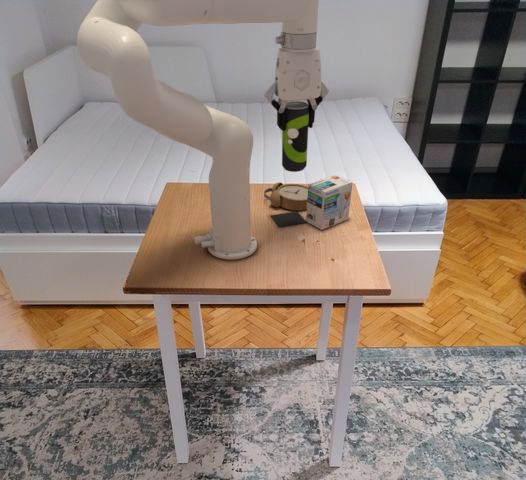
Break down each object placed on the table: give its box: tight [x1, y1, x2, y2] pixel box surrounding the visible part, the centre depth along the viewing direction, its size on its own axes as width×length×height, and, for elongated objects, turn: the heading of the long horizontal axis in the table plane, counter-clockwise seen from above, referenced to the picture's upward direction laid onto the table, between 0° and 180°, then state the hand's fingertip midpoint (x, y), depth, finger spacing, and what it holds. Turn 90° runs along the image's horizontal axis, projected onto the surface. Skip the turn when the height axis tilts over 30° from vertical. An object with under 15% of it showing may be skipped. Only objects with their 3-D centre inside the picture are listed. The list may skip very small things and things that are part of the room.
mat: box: [270, 210, 307, 228], centre depth 139 cm, size 8×7×1 cm
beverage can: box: [281, 100, 309, 173], centre depth 122 cm, size 6×6×15 cm
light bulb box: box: [305, 174, 353, 231], centre depth 135 cm, size 11×7×11 cm, turn 129°
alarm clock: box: [263, 181, 308, 211], centre depth 146 cm, size 11×5×15 cm
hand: (295, 127), depth 120 cm, fingers closed on beverage can, 6 cm apart
